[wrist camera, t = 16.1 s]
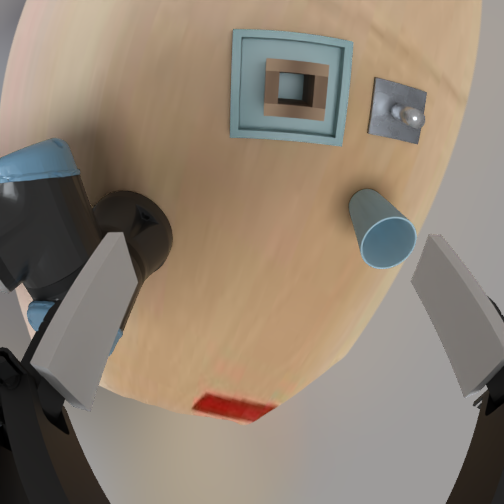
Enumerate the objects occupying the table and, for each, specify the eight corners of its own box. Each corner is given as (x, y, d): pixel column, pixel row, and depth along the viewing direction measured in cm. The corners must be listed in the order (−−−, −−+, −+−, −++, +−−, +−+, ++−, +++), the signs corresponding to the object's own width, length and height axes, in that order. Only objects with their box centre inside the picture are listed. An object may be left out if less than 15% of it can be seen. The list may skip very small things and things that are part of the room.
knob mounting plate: (367, 132, 33) (383, 143, 29) (374, 77, 29) (392, 79, 24) (415, 143, 33) (435, 155, 29) (424, 91, 29) (447, 97, 24)
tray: (231, 133, 35) (230, 137, 33) (235, 31, 26) (233, 29, 25) (337, 142, 35) (341, 146, 33) (348, 43, 26) (353, 41, 24)
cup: (354, 173, 37) (380, 208, 29) (396, 191, 38) (427, 228, 30) (333, 217, 41) (350, 260, 33) (374, 231, 43) (396, 274, 34)
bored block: (263, 106, 32) (263, 115, 25) (265, 61, 28) (266, 58, 22) (311, 110, 32) (324, 121, 25) (315, 66, 28) (329, 64, 22)
